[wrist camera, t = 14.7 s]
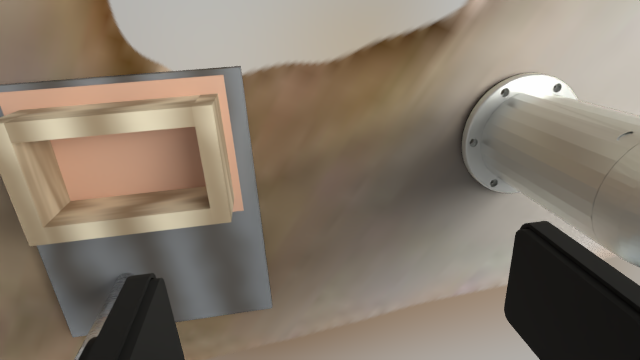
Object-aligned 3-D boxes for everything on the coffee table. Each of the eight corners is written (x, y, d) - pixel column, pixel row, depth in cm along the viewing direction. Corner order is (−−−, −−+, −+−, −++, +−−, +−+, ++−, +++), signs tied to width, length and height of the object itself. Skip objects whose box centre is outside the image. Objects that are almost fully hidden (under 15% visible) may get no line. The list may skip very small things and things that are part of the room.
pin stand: (240, 66, 35) (229, 99, 21) (271, 302, 45) (278, 433, 31) (-18, 85, 32) (-233, 139, 18) (76, 330, 42) (-14, 487, 28)
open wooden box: (217, 93, 34) (211, 105, 30) (234, 197, 38) (231, 222, 33) (19, 110, 32) (-20, 125, 28) (58, 217, 36) (29, 246, 32)
